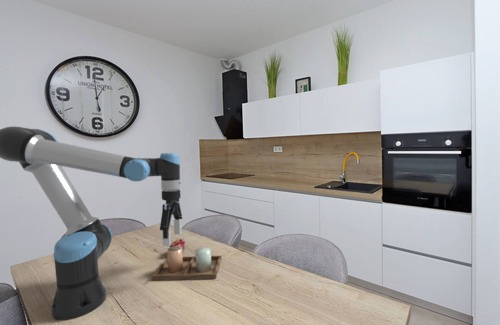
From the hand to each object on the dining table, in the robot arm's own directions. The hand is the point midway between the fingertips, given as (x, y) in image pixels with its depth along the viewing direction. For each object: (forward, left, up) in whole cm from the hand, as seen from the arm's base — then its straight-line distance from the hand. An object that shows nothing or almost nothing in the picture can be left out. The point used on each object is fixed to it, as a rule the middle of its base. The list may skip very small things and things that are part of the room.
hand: (172, 239), depth 102 cm
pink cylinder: (0, -1, -13) cm, 13 cm away
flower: (+17, +4, -14) cm, 23 cm away
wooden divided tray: (0, -7, -14) cm, 15 cm away
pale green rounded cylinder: (0, -13, -13) cm, 18 cm away
